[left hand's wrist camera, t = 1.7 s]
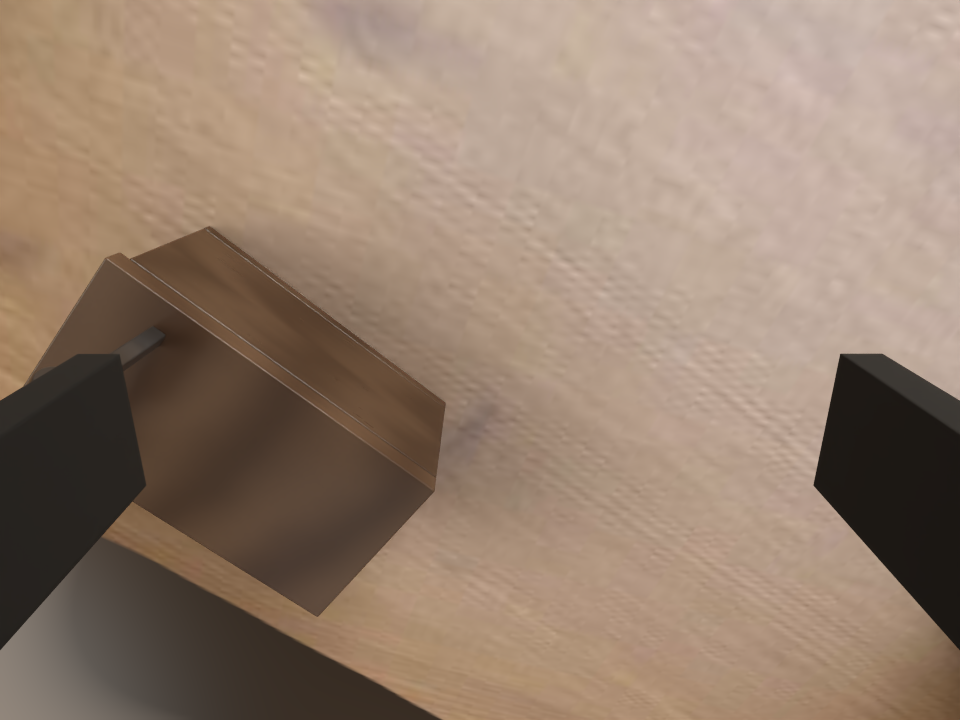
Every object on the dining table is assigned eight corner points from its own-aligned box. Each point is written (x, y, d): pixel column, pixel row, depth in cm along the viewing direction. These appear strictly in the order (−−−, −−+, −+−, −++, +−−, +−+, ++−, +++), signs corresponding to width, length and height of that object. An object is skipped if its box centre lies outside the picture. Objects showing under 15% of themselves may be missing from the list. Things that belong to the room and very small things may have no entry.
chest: (124, 351, 39) (28, 414, 31) (209, 225, 37) (129, 258, 28) (353, 507, 43) (323, 600, 35) (446, 403, 40) (436, 477, 32)
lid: (18, 408, 31) (-157, 520, 22) (120, 251, 28) (-35, 309, 20) (323, 601, 35) (271, 759, 26) (436, 477, 32) (420, 608, 24)
